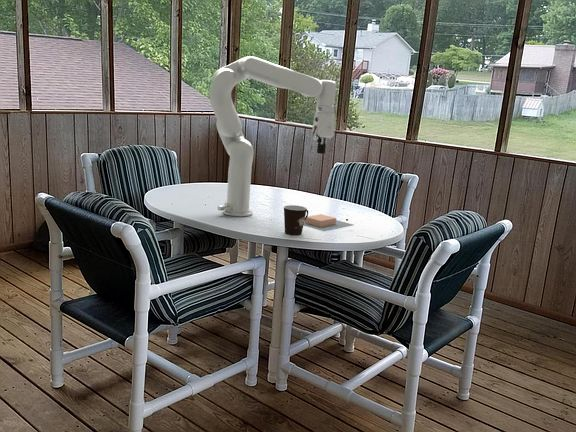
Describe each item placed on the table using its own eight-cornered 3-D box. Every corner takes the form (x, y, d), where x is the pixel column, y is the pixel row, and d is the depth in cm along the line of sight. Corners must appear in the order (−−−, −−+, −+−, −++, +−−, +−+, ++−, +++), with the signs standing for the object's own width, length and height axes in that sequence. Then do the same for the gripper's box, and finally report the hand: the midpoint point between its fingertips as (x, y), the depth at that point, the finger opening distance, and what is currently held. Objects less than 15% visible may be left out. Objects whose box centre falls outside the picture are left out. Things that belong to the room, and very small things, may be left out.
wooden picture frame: (335, 224, 228) (320, 227, 221) (320, 220, 234) (305, 222, 226) (336, 218, 228) (320, 221, 221) (321, 214, 233) (305, 216, 226)
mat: (323, 232, 215) (323, 231, 215) (289, 222, 227) (289, 221, 227) (354, 226, 230) (354, 224, 230) (321, 217, 242) (321, 215, 242)
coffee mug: (287, 236, 205) (289, 210, 203) (278, 230, 213) (280, 205, 211) (315, 235, 210) (317, 209, 208) (305, 229, 218) (307, 204, 215)
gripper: (320, 110, 228) (316, 155, 232) (342, 111, 239) (338, 154, 243) (306, 108, 233) (302, 152, 237) (329, 109, 244) (325, 151, 248)
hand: (320, 153), depth 240 cm, fingers closed
